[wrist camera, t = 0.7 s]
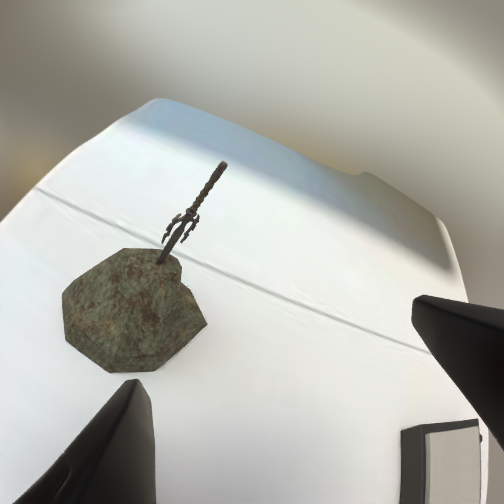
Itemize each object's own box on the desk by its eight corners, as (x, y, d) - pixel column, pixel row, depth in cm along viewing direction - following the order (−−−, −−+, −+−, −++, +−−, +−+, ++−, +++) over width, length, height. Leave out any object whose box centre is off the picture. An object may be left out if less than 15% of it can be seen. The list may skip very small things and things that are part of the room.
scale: (461, 531, 13) (483, 528, 11) (392, 565, 11) (418, 568, 9) (462, 424, 23) (483, 416, 21) (400, 430, 20) (426, 422, 18)
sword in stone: (89, 397, 15) (35, 313, 6) (51, 292, 18) (16, 148, 9) (220, 341, 21) (302, 228, 12) (170, 256, 24) (210, 122, 15)
